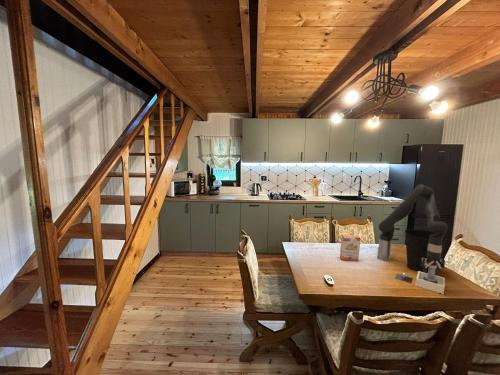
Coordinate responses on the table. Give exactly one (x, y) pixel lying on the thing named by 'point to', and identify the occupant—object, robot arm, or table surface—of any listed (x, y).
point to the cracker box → (350, 247)
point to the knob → (431, 274)
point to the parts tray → (430, 283)
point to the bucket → (418, 247)
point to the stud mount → (404, 278)
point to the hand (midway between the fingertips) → (431, 272)
